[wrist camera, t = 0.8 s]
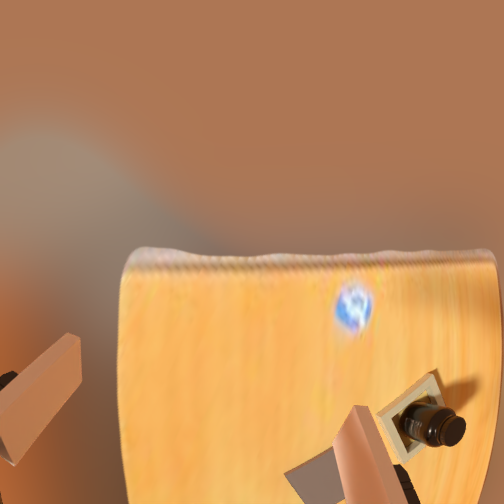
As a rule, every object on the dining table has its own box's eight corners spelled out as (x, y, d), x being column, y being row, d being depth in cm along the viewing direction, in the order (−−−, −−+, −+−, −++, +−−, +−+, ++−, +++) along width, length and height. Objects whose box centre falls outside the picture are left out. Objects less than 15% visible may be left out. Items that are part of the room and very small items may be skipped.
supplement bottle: (416, 440, 41) (456, 457, 29) (391, 429, 41) (430, 448, 30) (433, 407, 42) (476, 417, 31) (410, 395, 43) (453, 405, 31)
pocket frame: (445, 420, 42) (451, 422, 40) (398, 460, 39) (403, 464, 38) (426, 373, 44) (433, 373, 42) (375, 414, 42) (380, 417, 40)
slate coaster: (367, 480, 38) (369, 482, 37) (312, 513, 36) (313, 515, 35) (343, 439, 40) (346, 441, 39) (283, 473, 38) (285, 476, 37)
